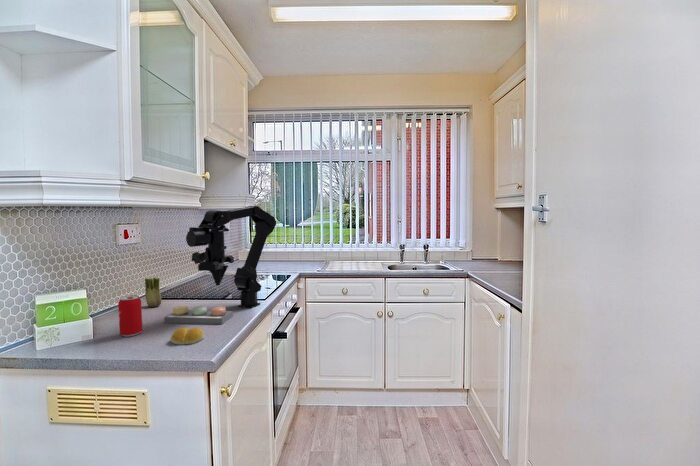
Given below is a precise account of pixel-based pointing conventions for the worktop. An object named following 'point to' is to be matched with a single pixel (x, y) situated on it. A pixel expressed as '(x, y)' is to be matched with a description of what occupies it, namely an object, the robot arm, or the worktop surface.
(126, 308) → the beverage can
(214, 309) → the terracotta button
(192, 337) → the bread roll
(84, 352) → the worktop surface
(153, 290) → the fennel bulb
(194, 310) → the sage button
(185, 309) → the ochre button
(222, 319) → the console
